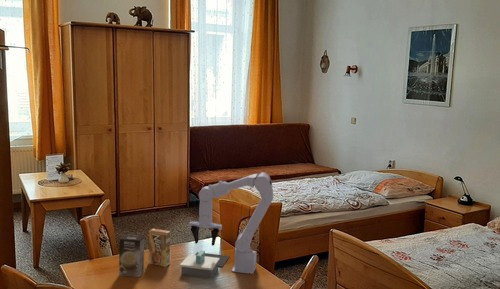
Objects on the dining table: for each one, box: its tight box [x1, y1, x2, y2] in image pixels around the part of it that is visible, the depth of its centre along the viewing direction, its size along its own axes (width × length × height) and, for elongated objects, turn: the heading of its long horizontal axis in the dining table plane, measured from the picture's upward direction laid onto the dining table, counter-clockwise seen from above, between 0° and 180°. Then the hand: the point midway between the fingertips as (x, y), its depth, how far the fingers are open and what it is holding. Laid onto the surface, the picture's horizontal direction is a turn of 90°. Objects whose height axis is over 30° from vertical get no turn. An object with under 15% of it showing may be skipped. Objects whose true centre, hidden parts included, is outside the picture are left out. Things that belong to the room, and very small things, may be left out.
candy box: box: [148, 228, 171, 267], centre depth 208 cm, size 9×4×15 cm, turn 70°
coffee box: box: [118, 233, 145, 278], centre depth 197 cm, size 9×6×16 cm
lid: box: [179, 250, 220, 270], centre depth 202 cm, size 14×12×5 cm
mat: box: [194, 251, 230, 268], centre depth 216 cm, size 16×13×1 cm
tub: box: [180, 263, 219, 280], centre depth 202 cm, size 13×11×4 cm
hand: (204, 243), depth 207 cm, fingers open, 7 cm apart
